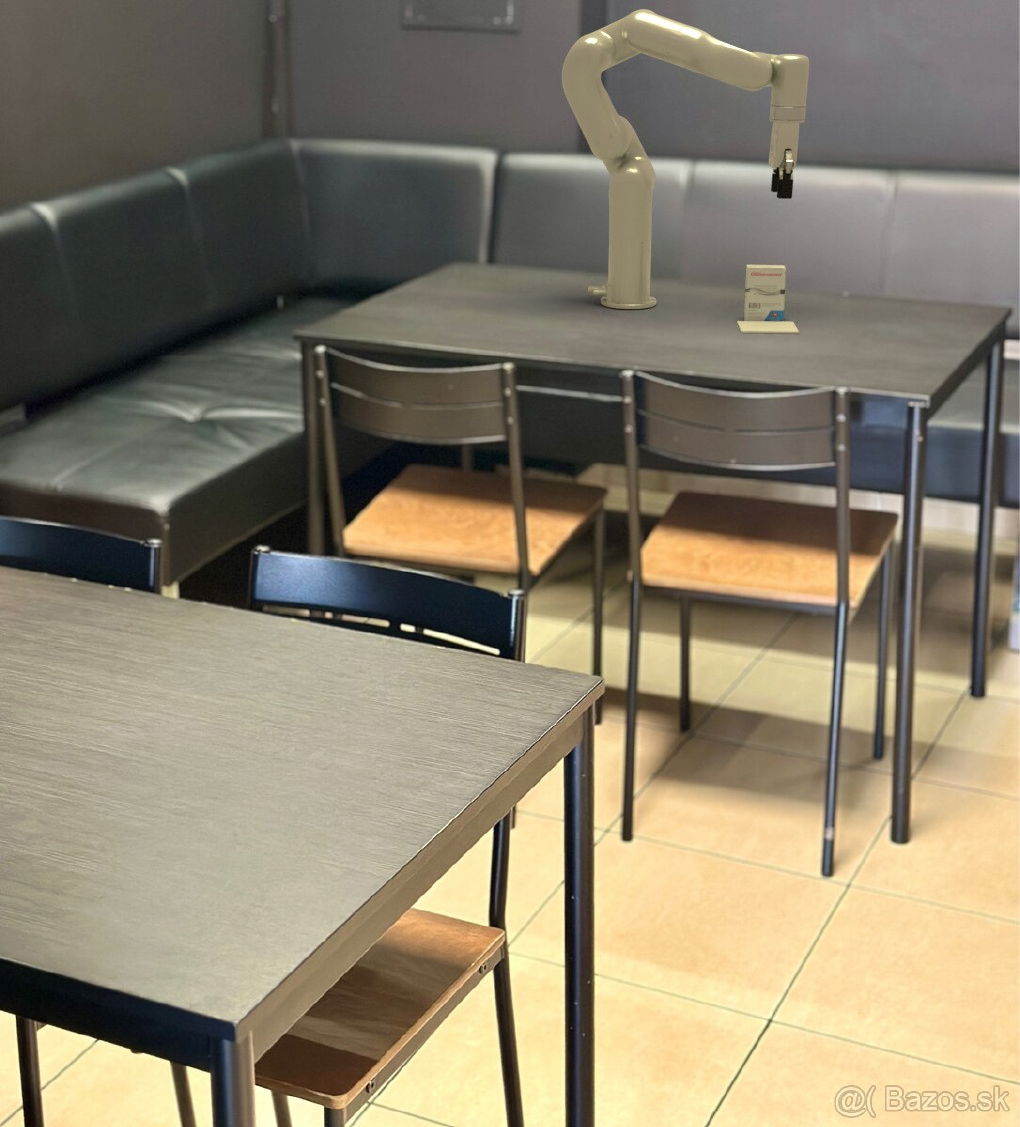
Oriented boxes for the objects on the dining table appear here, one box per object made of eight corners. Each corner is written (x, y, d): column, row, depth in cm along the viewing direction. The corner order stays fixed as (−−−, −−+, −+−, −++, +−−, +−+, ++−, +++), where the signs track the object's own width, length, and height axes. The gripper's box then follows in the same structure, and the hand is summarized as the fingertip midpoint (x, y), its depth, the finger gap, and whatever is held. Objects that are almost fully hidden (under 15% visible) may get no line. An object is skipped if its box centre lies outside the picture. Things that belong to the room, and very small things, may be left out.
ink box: (782, 317, 349) (785, 264, 345) (783, 322, 344) (787, 268, 340) (743, 317, 350) (745, 263, 345) (744, 321, 345) (746, 267, 341)
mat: (741, 333, 335) (741, 331, 334) (737, 322, 344) (737, 321, 344) (798, 333, 334) (798, 331, 334) (792, 323, 343) (793, 321, 343)
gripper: (765, 110, 350) (759, 189, 356) (775, 118, 334) (769, 200, 340) (799, 111, 350) (792, 190, 356) (811, 118, 334) (804, 201, 340)
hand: (781, 195), depth 348 cm, fingers open, 9 cm apart
